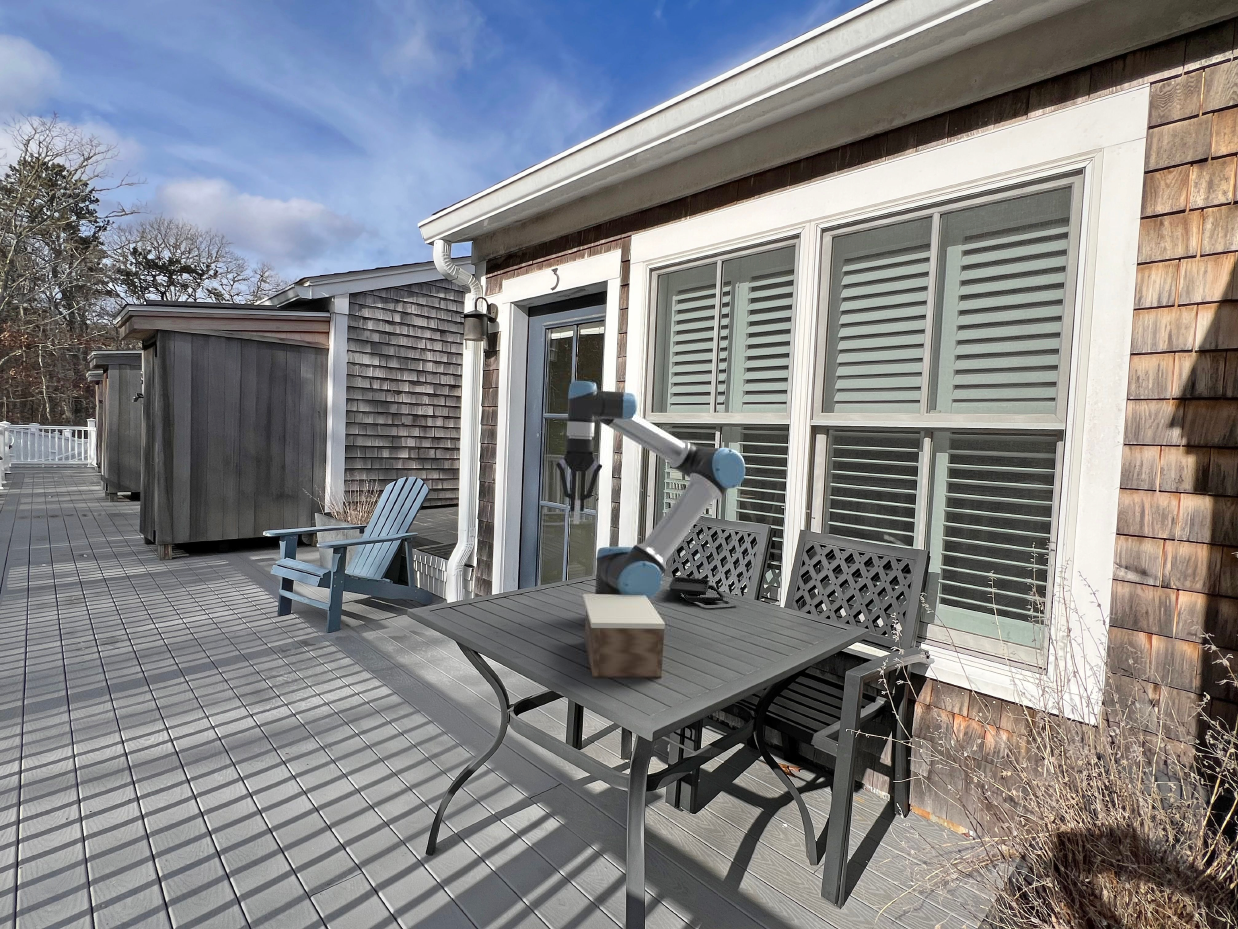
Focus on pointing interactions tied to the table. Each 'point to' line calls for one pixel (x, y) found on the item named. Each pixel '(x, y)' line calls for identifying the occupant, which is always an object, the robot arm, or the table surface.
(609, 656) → the bin
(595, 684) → the table surface
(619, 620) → the lid
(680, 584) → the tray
